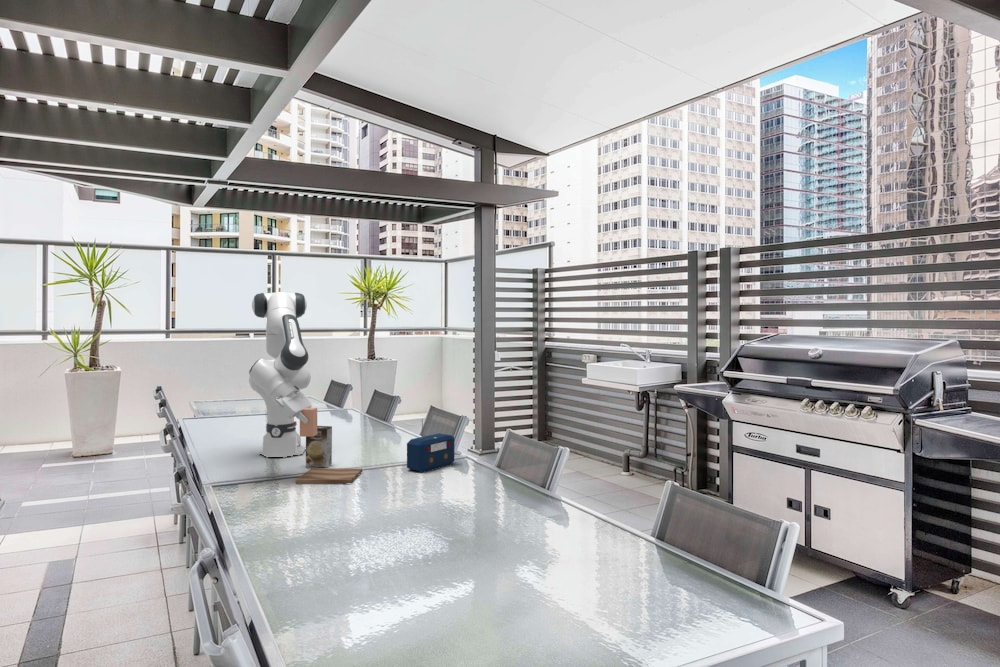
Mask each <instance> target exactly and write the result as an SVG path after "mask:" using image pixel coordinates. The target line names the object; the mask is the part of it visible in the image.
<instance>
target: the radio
mask: <svg viewBox="0 0 1000 667" xmlns="http://www.w3.org/2000/svg"><path fill="white" fill-rule="evenodd" d="M423 422H424V421H423V419H421V436H419V437H415V438H411V439H410V440H408V442H407V443H406V468H407V469H409V470H410V469H412V470H411V471H414V470H416V471H415V472H419V471H421V472H420V473H424V471H426V472H429V471H432V469H433V470H436V468H437V469H440V468H443V466H444V467H447V466H446V465H448V466H451V465H452V464H454V462H455V436H453V435H451V434H445V433H440V432H439V433H435V434H430V435H425V436H424V430H423V428H424V427H423V425H424V424H423ZM450 464H451V465H450ZM439 467H440V468H439ZM428 470H429V471H428Z"/></svg>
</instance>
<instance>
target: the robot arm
mask: <svg viewBox="0 0 1000 667" xmlns="http://www.w3.org/2000/svg"><path fill="white" fill-rule="evenodd" d="M307 305H308V304H307V299H306V298H305V295H304V294H303V293H299V292H288V291H287V292H286V291H277V292H268V293H267V292H265V293H264V292H260V293H256V294H255V295H254V297H253V299H252V303H251V309H252V311H253V313H254V315H255V316H256V317H257V318H262V319H264V318H266V326H265V327H266V328H265V336H266V337H265V344H266V348H265V349H266V353H267V354H268V355H269V356H270V357H272V358H274V359H264V358H262V357H261V358H259V359H258V360H256V361H255V362H254V363H253V365H252V366H251V368H250V369H249V370H248V374H249V377H248V378H249V379H248V382H249V386H250V388H251V389H252V390H253V391H254V392H256V393H257V394H259V396H260V397H261V398H262V399H263V401H264V404H265V406H266V416H267V418H266V419H267V423H266V424H265V425H266V426H265V429H266V430H265V431H266V433H265V435H264V436H263V438H262V450H261V451H260V452H259V454H263V455H265V456H268V457H283V458H288V457H287V456H291V457H294V456H293V455H298V456H301V455H300V454H303V455H304V453H305V451H306V450H305V448H306V445H305V446H304V445H302V444H301V442H302V440H301V439H302V437H300V434H299V433H298V432H297V431H296V428H297V425H298V424H297V423H298V422H297V421H296V420H295V418H296V419H298V420H299V421H300V420H301V421H302V422H303V423H304V424H306V423H308V422H309V419H308V418H307V417H305V416H304V415H303V414H302V413H301V412H300V411H302V409H305V408H313V404H312V402H311V401H310V400H309V398H307V397H306V395H305V394H304V393H302V392H301V390H303V389H306V388H307V387H308V386H309V385H310V382H311V373H310V370H309V369H308V368H307V367H305V365H306V364H307V362H308V361H309V352H308V350H307V348H306V346H305V344H304V342H303V339H302V332H301V328H300V323H299V320H298V319H299V318H301V317H302V316H303V315H305V313H306V311H307ZM304 450H305V451H304ZM303 452H304V453H303ZM268 457H267V458H268Z"/></svg>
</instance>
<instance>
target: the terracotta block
mask: <svg viewBox="0 0 1000 667" xmlns="http://www.w3.org/2000/svg"><path fill="white" fill-rule="evenodd" d="M300 412H301V413H302V414H303V415H304V416H305V417H307V418H308V419H309V422H308V423H306V424H304V423H303V422H302V421H301V420H299V436H300V437H301V438H302V437H304V438H306V437H313V436H315V435H317V426H318V407H311V408H305V409H302V411H300Z"/></svg>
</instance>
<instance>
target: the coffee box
mask: <svg viewBox="0 0 1000 667" xmlns="http://www.w3.org/2000/svg"><path fill="white" fill-rule="evenodd" d="M305 447H306V450H305V468H309V467H325V468H326V467H328V466H329V467H331V466H332V465H333V462H332V461H333V458H332V457H333V455H332V454H333V426H331V425H317V435H315V436H313V437H305ZM331 464H332V465H331ZM330 465H331V466H330ZM329 467H328V468H329Z"/></svg>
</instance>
